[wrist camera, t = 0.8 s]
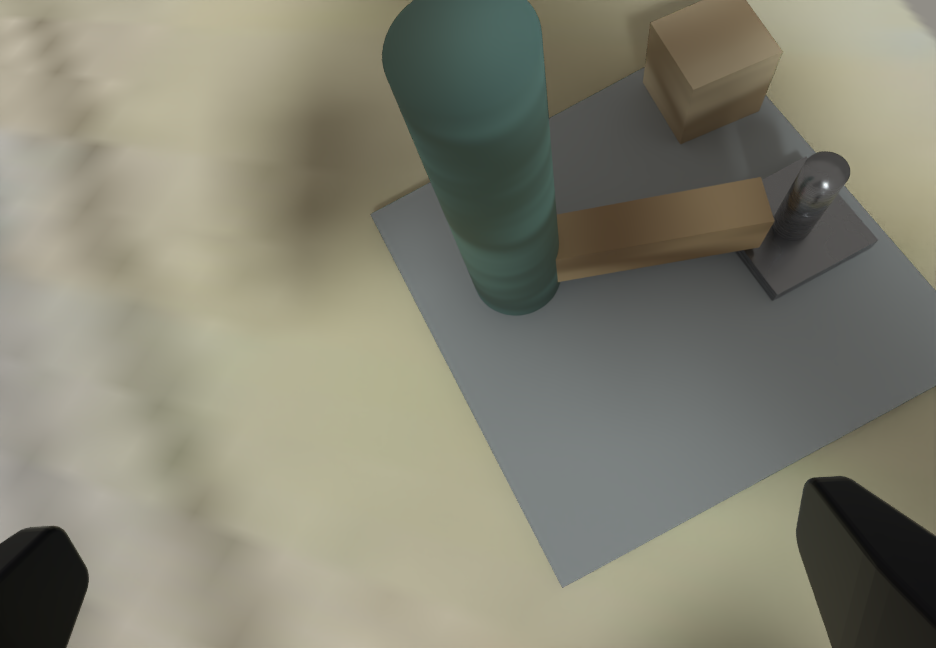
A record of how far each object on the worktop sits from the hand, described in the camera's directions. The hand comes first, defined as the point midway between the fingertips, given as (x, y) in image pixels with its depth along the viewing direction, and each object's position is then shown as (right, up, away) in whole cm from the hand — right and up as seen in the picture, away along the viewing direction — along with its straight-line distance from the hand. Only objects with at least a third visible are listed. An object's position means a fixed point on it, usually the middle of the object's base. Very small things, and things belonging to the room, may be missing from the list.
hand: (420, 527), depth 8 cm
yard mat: (+7, +4, +15) cm, 16 cm away
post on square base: (+11, +6, +14) cm, 19 cm away
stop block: (+9, +11, +16) cm, 21 cm away
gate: (+5, +5, +14) cm, 16 cm away
